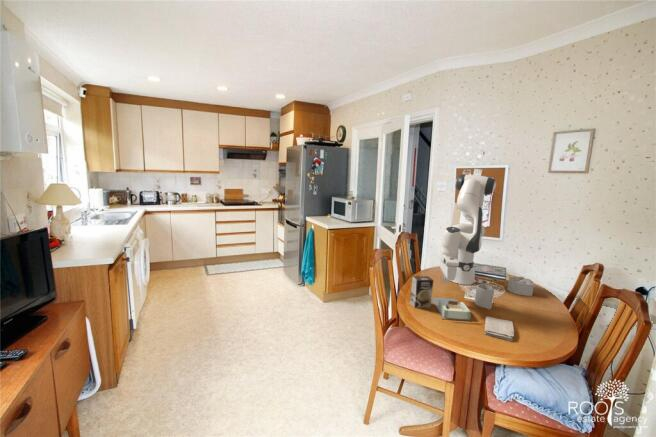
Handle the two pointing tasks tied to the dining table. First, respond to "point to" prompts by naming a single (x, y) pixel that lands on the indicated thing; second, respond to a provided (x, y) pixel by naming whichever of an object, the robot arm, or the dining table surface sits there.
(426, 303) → the coffee box
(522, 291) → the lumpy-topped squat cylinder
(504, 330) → the washcloth
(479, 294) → the mug
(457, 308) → the beige box with tab
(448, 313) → the dock
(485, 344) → the dining table surface
